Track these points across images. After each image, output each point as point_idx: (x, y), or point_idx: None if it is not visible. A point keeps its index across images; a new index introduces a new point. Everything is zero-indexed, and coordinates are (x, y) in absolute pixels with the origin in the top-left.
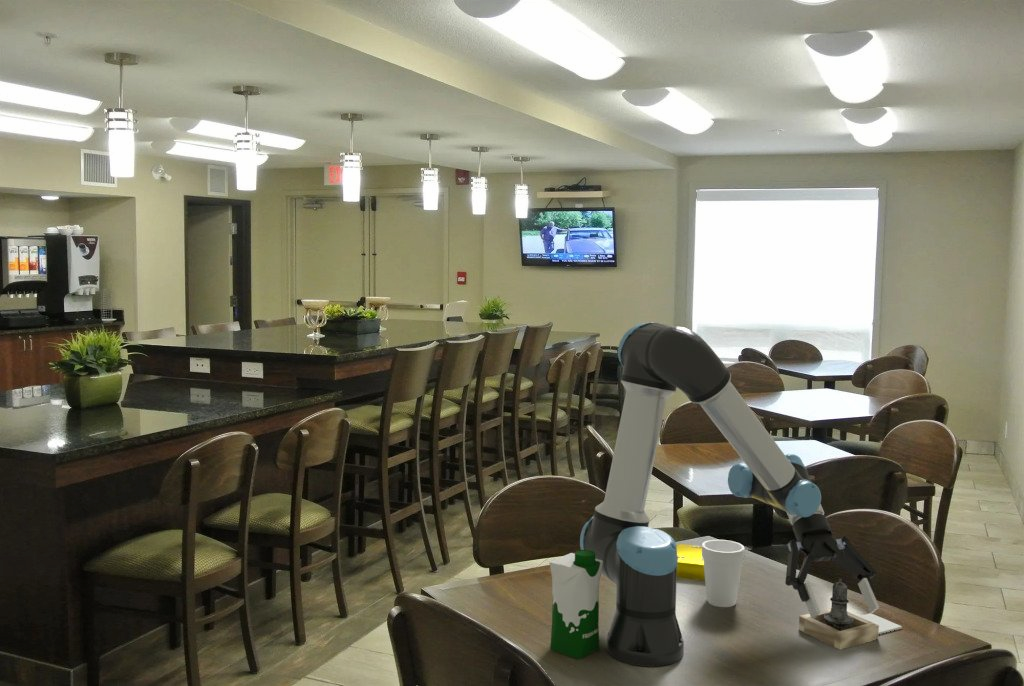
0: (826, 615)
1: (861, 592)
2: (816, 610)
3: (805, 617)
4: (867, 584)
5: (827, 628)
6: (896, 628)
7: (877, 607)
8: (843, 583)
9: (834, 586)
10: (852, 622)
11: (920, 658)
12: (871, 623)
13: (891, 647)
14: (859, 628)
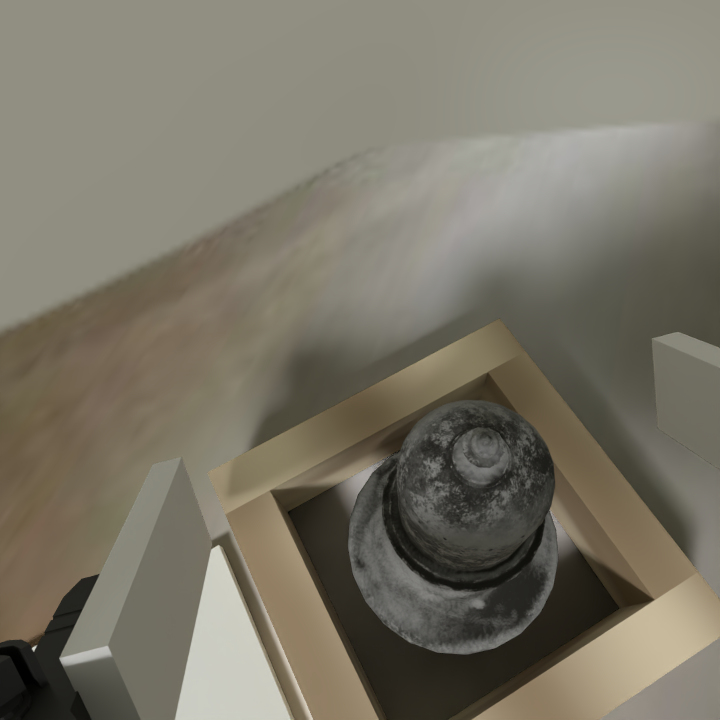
0: (537, 566)
1: (183, 676)
2: (687, 336)
3: (690, 592)
4: (116, 589)
5: (558, 404)
6: None
7: (169, 461)
8: (441, 453)
9: (546, 446)
10: (375, 471)
11: (143, 297)
12: (242, 497)
13: (213, 400)
14: (354, 414)
